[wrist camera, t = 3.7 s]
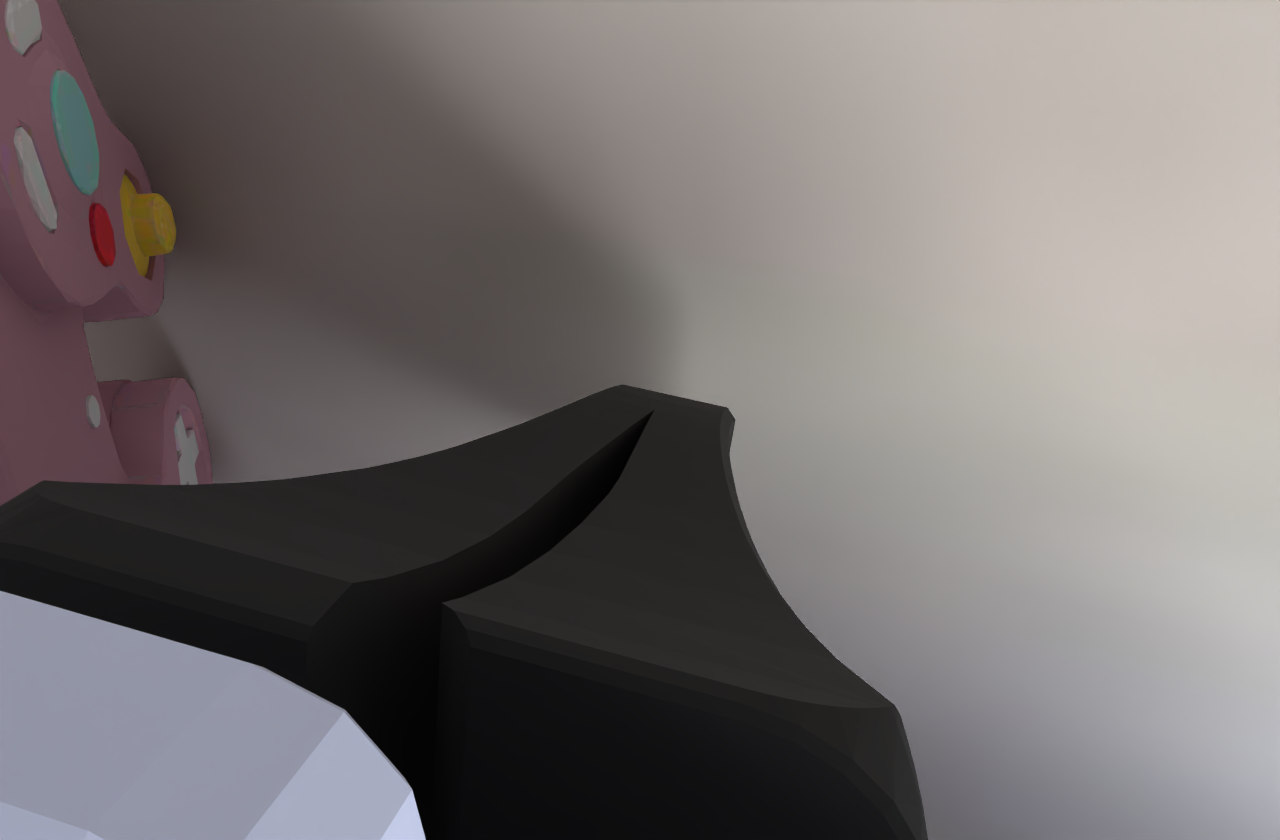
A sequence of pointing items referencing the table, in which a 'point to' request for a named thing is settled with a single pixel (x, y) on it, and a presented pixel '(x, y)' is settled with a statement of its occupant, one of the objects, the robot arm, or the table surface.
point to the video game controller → (77, 277)
